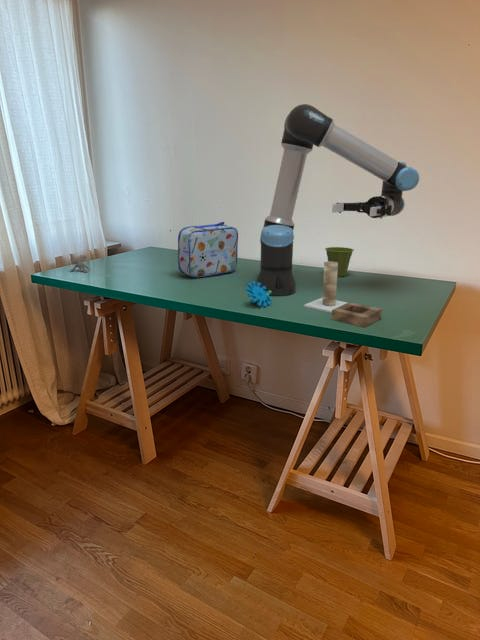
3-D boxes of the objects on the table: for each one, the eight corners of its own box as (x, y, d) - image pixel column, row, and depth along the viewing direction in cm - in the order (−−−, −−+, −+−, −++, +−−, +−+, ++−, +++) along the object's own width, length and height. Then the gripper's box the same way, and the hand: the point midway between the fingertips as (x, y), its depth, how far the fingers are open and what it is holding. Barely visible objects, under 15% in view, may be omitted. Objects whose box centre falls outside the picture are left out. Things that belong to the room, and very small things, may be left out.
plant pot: (357, 275, 192) (359, 249, 189) (340, 279, 185) (343, 252, 181) (334, 270, 201) (336, 245, 197) (317, 274, 193) (319, 248, 189)
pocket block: (331, 319, 137) (332, 309, 136) (348, 311, 145) (349, 302, 144) (364, 327, 131) (365, 317, 130) (380, 318, 139) (382, 308, 138)
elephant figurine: (77, 275, 190) (63, 266, 194) (83, 282, 196) (70, 273, 199) (93, 258, 193) (79, 249, 196) (99, 266, 198) (85, 256, 202)
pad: (303, 306, 150) (303, 304, 149) (322, 298, 158) (322, 297, 158) (335, 314, 142) (336, 312, 142) (353, 305, 151) (353, 303, 151)
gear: (256, 306, 144) (243, 280, 148) (246, 315, 148) (233, 290, 151) (279, 303, 152) (266, 279, 155) (269, 313, 156) (256, 289, 159)
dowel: (319, 304, 150) (321, 263, 145) (326, 301, 153) (328, 260, 148) (331, 306, 147) (333, 264, 143) (338, 303, 150) (340, 262, 146)
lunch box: (227, 267, 205) (227, 218, 198) (242, 272, 198) (242, 221, 191) (176, 276, 189) (173, 223, 182) (189, 281, 181) (188, 226, 174)
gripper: (411, 220, 156) (386, 225, 141) (346, 214, 171) (317, 218, 156) (415, 198, 154) (389, 201, 138) (349, 194, 169) (319, 195, 154)
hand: (351, 210), depth 147 cm, fingers open, 13 cm apart
